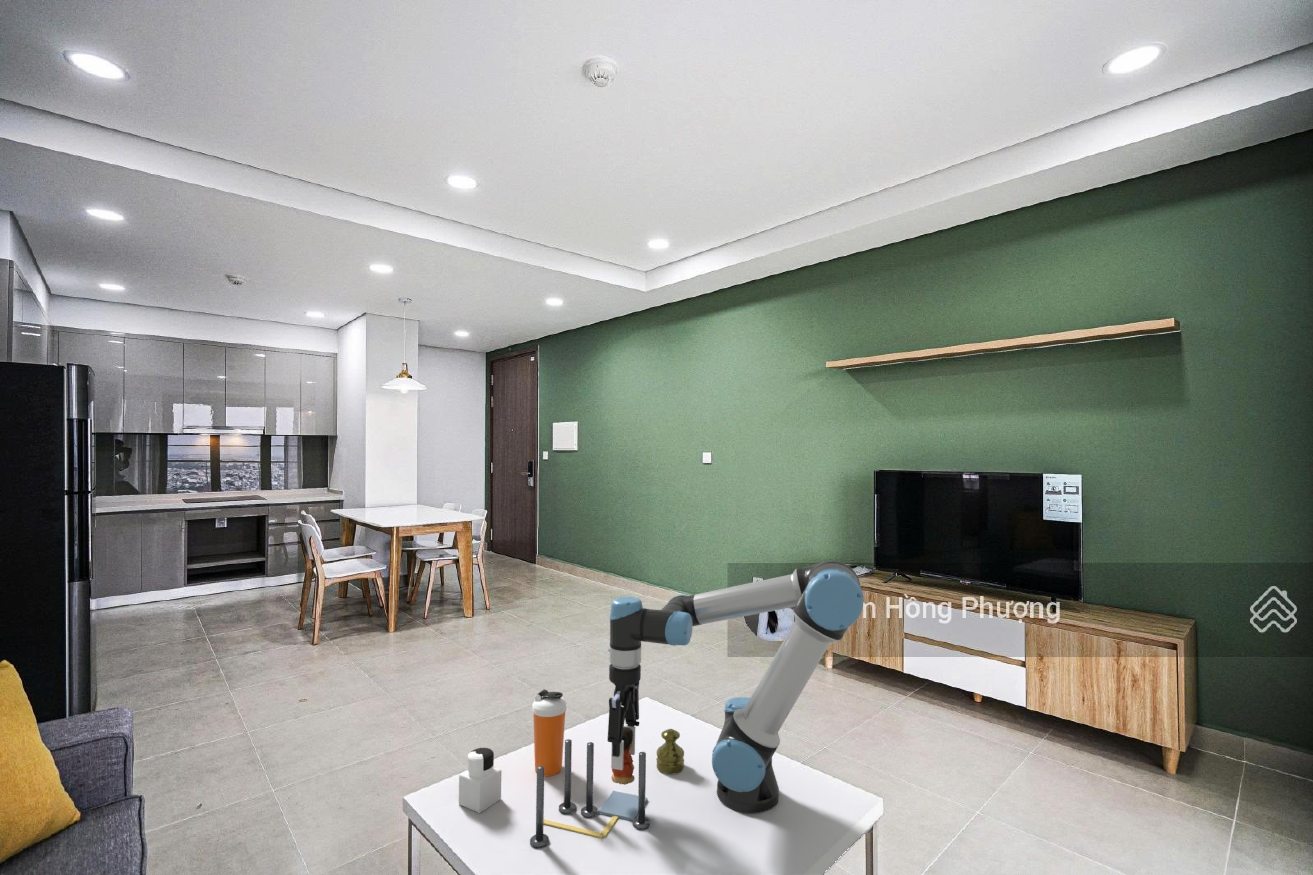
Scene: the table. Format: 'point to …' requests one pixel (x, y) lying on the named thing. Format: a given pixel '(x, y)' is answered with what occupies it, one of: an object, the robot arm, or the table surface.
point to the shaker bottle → (549, 731)
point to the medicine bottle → (480, 781)
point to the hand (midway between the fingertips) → (623, 760)
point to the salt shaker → (670, 753)
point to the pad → (621, 806)
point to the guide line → (584, 831)
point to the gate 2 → (641, 820)
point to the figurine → (625, 761)
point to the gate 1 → (564, 808)
